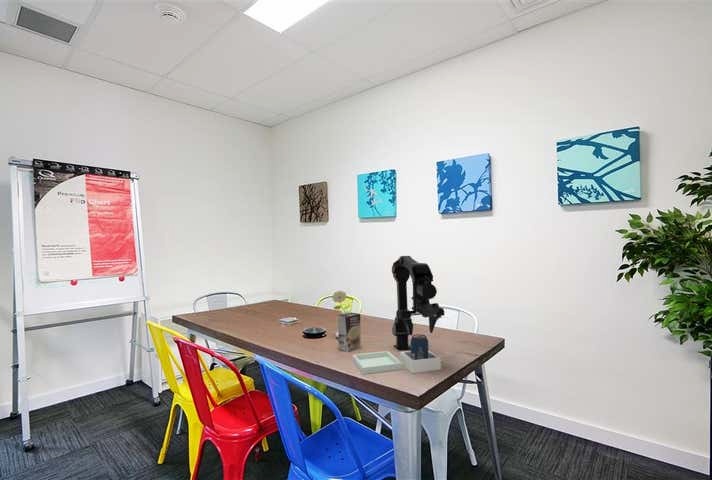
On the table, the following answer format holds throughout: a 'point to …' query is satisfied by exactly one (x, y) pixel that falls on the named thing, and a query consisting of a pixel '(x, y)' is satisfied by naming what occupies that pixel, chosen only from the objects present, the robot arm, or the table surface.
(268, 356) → the table surface
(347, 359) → the table surface
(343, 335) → the coffee box
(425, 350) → the soda can
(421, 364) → the pale square open box
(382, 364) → the tray
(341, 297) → the flower in vase
